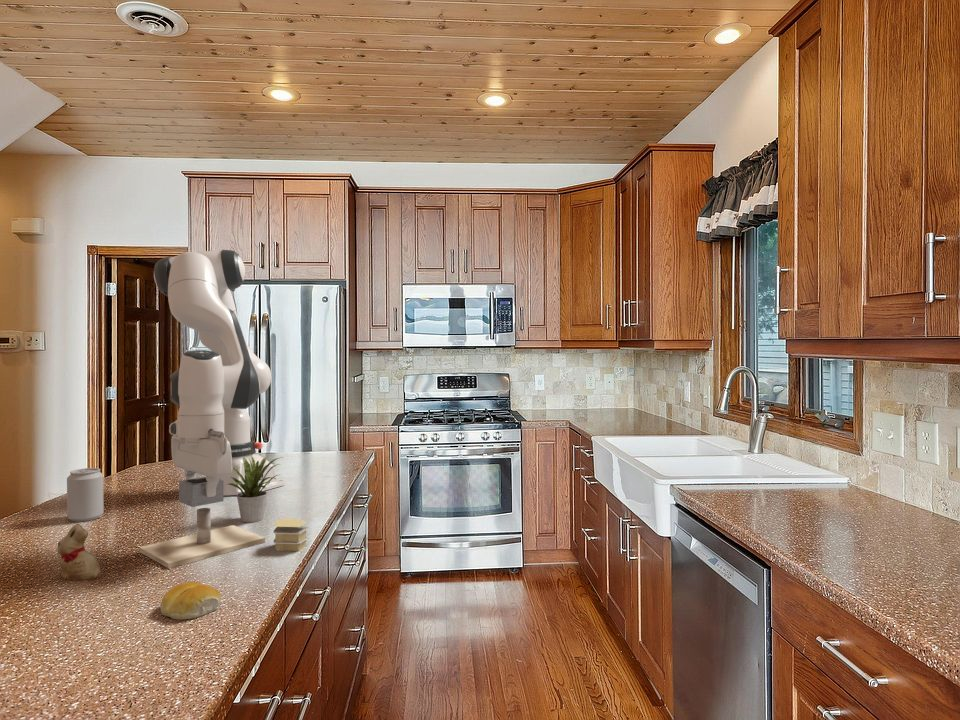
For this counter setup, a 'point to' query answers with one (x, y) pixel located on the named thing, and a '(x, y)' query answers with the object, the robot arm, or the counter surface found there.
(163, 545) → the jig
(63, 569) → the chocolate bunny
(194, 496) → the hollow square tube
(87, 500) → the can
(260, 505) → the house plant
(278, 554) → the counter surface
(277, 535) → the stacked food containers
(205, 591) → the bread roll
